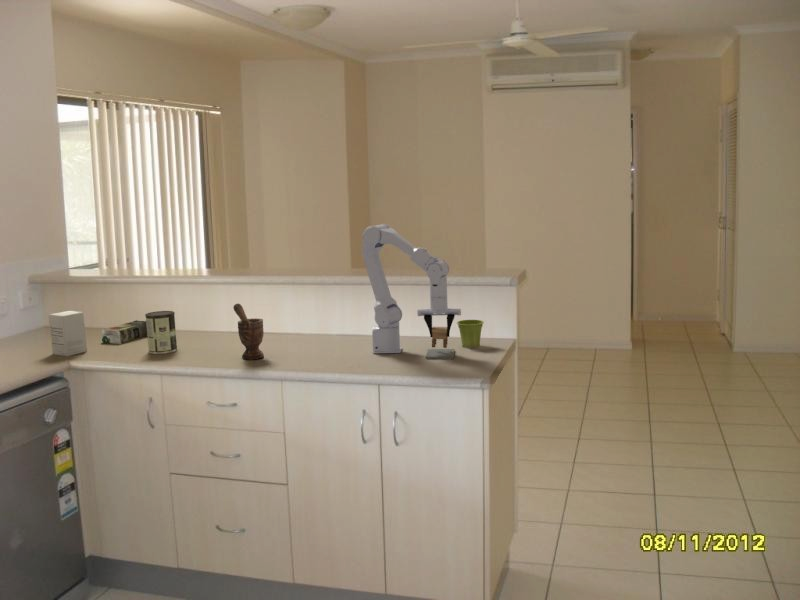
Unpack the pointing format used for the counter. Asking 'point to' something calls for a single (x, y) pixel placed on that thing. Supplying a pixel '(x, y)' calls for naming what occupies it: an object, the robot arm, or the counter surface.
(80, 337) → the supplement box
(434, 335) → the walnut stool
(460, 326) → the plant pot
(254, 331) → the mortar and pestle
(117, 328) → the juice carton
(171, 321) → the coffee can
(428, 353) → the slate mat
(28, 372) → the counter surface
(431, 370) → the counter surface
